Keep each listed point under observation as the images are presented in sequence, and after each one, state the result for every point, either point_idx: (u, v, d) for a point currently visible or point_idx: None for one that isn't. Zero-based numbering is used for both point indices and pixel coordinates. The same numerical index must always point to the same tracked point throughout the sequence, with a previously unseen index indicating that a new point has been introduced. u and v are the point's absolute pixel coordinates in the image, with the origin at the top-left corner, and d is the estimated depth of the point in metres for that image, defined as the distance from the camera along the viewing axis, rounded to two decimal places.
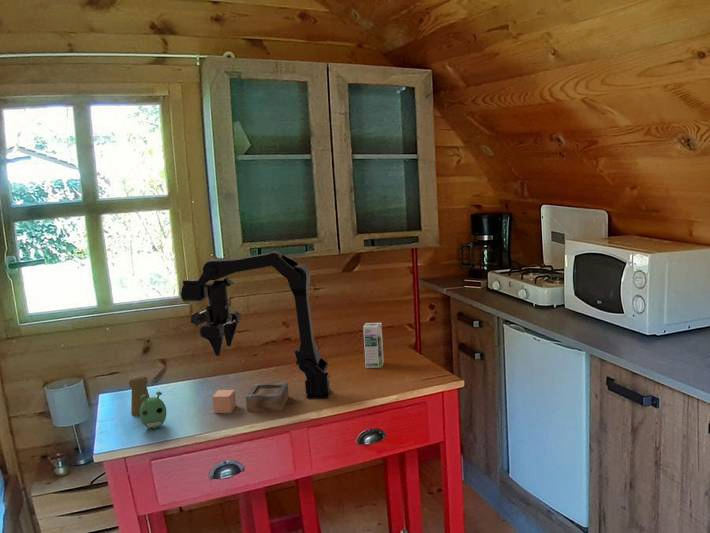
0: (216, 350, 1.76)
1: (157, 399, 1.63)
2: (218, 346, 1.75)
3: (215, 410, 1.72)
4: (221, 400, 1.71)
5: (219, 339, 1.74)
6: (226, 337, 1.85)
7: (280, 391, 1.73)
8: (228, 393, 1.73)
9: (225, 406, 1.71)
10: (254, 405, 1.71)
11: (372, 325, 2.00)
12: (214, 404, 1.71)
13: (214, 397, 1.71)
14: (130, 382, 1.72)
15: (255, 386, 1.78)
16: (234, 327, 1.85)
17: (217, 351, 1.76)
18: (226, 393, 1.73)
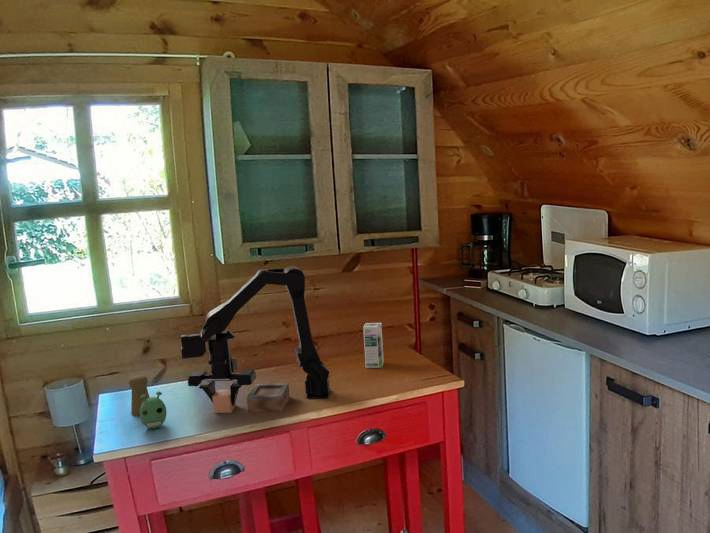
0: None
1: (157, 399, 1.63)
2: None
3: (215, 410, 1.72)
4: (221, 400, 1.71)
5: None
6: None
7: (281, 391, 1.73)
8: (228, 393, 1.73)
9: (225, 405, 1.71)
10: (255, 406, 1.71)
11: (372, 325, 2.00)
12: (214, 404, 1.71)
13: (214, 397, 1.71)
14: (130, 382, 1.72)
15: (256, 387, 1.78)
16: None
17: None
18: (226, 392, 1.73)
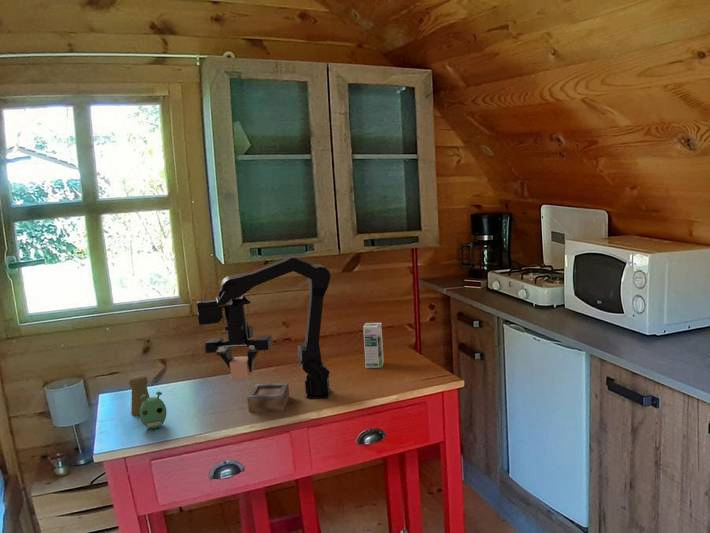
0: None
1: (157, 399, 1.63)
2: None
3: (232, 376, 1.71)
4: (238, 366, 1.70)
5: None
6: None
7: (281, 391, 1.73)
8: (245, 359, 1.72)
9: (243, 371, 1.70)
10: (256, 406, 1.71)
11: (372, 325, 2.00)
12: (231, 370, 1.71)
13: (231, 363, 1.70)
14: (130, 382, 1.72)
15: (256, 387, 1.78)
16: None
17: None
18: (243, 359, 1.72)
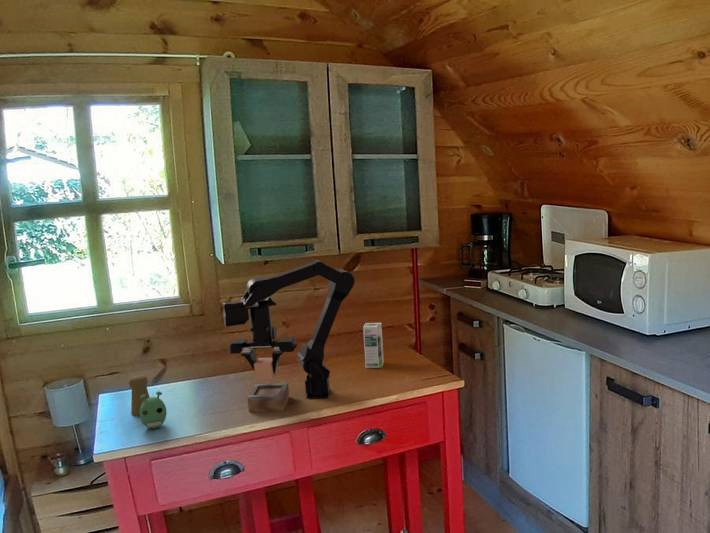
0: None
1: (157, 399, 1.63)
2: None
3: (257, 377, 1.72)
4: (263, 367, 1.72)
5: None
6: None
7: (282, 391, 1.73)
8: (269, 360, 1.73)
9: (267, 372, 1.72)
10: (256, 406, 1.71)
11: (372, 325, 2.00)
12: (256, 371, 1.72)
13: (256, 364, 1.72)
14: (130, 382, 1.72)
15: (255, 387, 1.78)
16: None
17: None
18: (267, 360, 1.74)
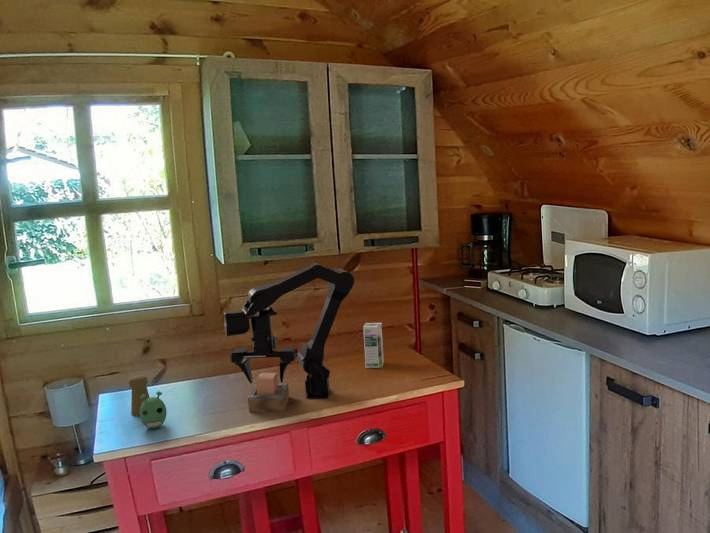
0: None
1: (157, 399, 1.63)
2: None
3: (258, 392, 1.73)
4: (265, 382, 1.72)
5: None
6: None
7: (282, 391, 1.73)
8: (271, 376, 1.74)
9: (269, 388, 1.72)
10: (256, 406, 1.70)
11: (372, 325, 2.00)
12: (257, 386, 1.73)
13: (258, 379, 1.72)
14: (130, 382, 1.72)
15: (255, 387, 1.77)
16: None
17: None
18: (269, 375, 1.74)
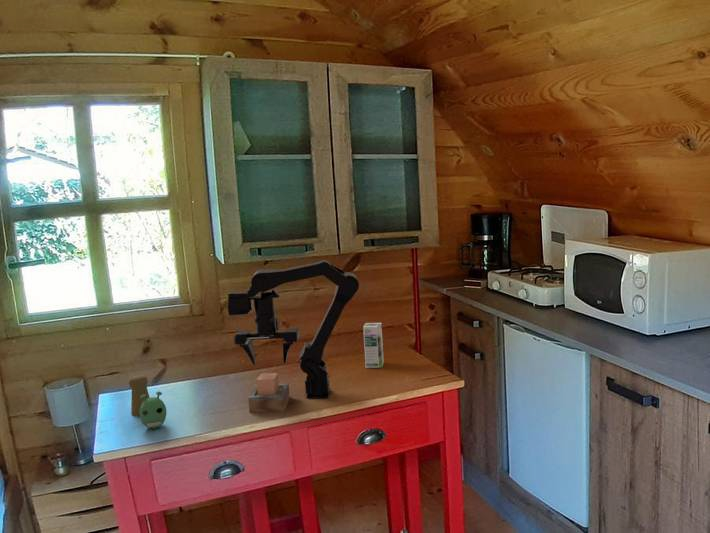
0: None
1: (157, 399, 1.63)
2: None
3: (259, 393, 1.72)
4: (265, 383, 1.72)
5: None
6: None
7: (282, 392, 1.73)
8: (271, 376, 1.73)
9: (269, 388, 1.72)
10: (257, 406, 1.70)
11: (372, 325, 2.00)
12: (258, 387, 1.72)
13: (258, 380, 1.72)
14: (130, 382, 1.72)
15: (256, 387, 1.77)
16: (283, 346, 1.74)
17: None
18: (270, 376, 1.74)
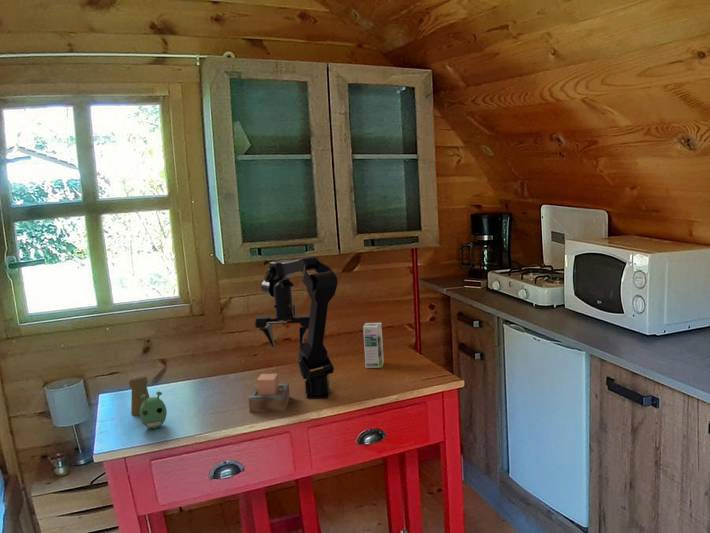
0: None
1: (157, 399, 1.63)
2: None
3: (259, 393, 1.72)
4: (265, 383, 1.71)
5: None
6: None
7: (283, 392, 1.73)
8: (272, 377, 1.73)
9: (270, 389, 1.72)
10: (257, 406, 1.70)
11: (372, 325, 2.00)
12: (258, 387, 1.72)
13: (258, 380, 1.72)
14: (130, 382, 1.72)
15: (256, 387, 1.77)
16: None
17: None
18: (270, 376, 1.73)
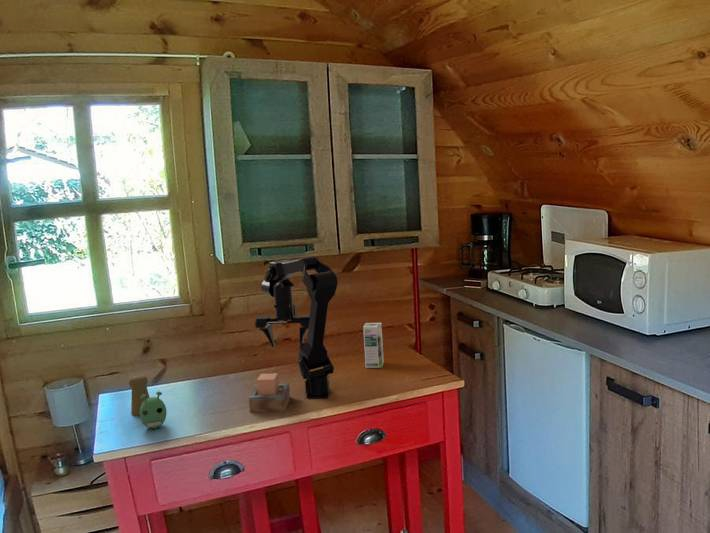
0: None
1: (157, 399, 1.63)
2: None
3: (259, 393, 1.72)
4: (266, 383, 1.72)
5: None
6: None
7: (283, 391, 1.73)
8: (272, 377, 1.73)
9: (270, 389, 1.72)
10: (257, 406, 1.70)
11: (372, 325, 2.00)
12: (258, 387, 1.72)
13: (259, 380, 1.72)
14: (130, 382, 1.72)
15: (256, 387, 1.77)
16: None
17: None
18: (270, 376, 1.74)
